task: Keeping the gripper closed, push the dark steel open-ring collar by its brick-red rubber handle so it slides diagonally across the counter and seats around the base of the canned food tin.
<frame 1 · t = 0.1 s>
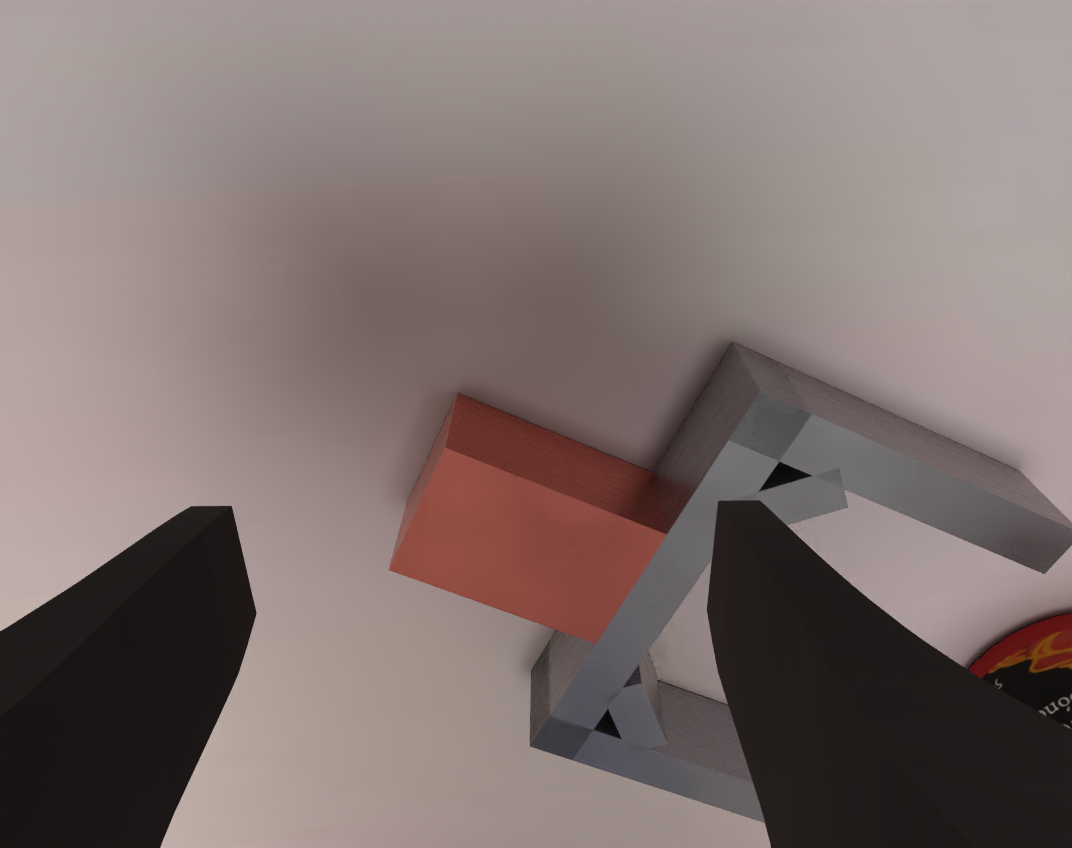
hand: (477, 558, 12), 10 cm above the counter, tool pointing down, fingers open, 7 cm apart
canned food: (1055, 691, 27), on the counter
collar: (804, 597, 25), on the counter
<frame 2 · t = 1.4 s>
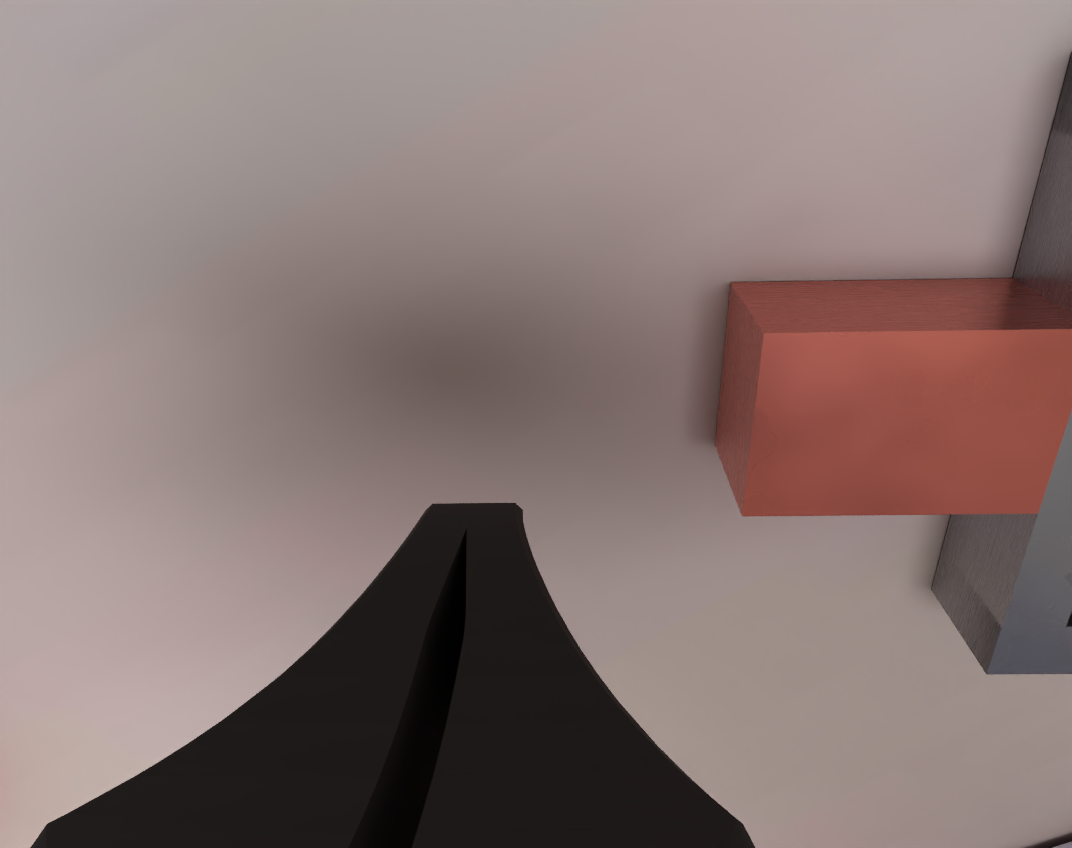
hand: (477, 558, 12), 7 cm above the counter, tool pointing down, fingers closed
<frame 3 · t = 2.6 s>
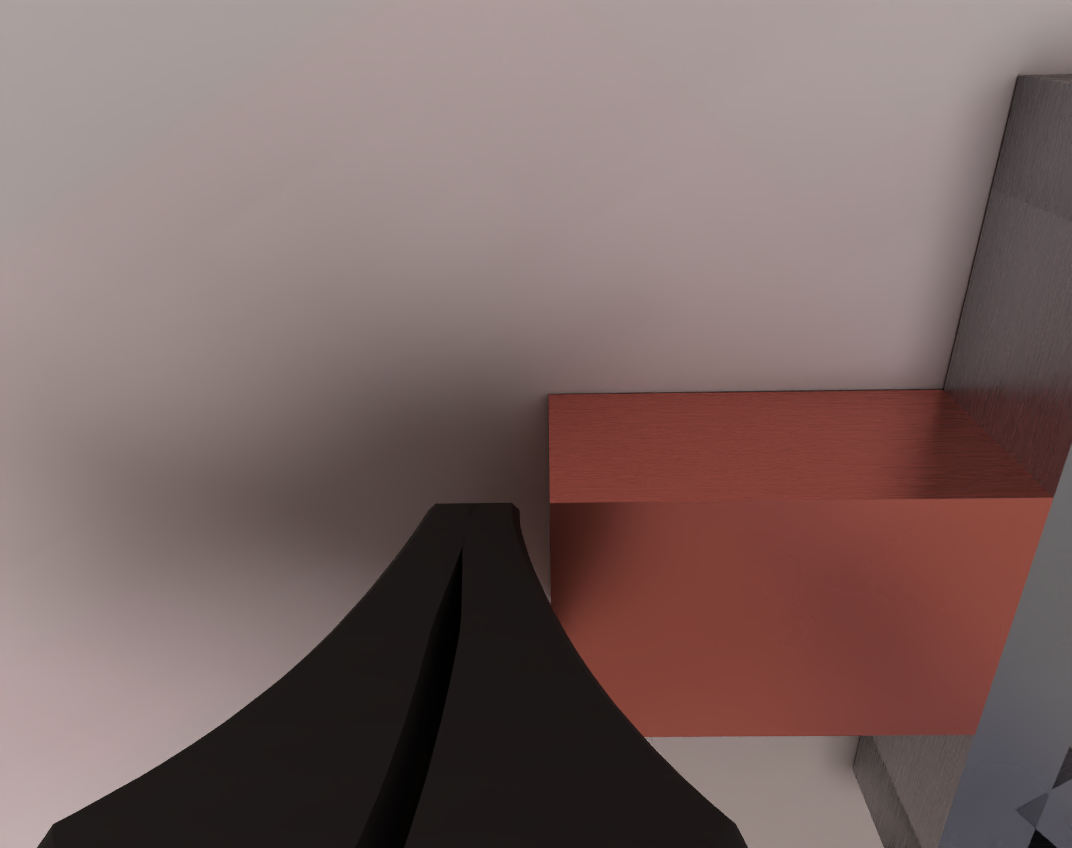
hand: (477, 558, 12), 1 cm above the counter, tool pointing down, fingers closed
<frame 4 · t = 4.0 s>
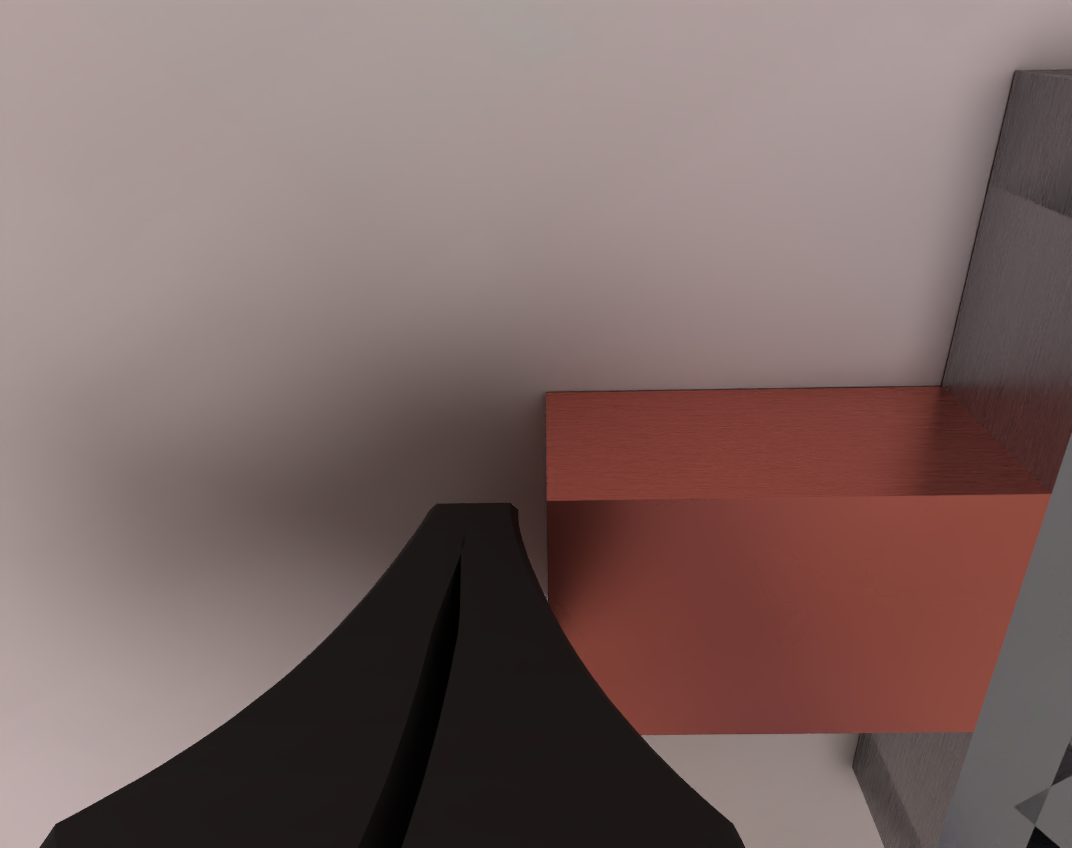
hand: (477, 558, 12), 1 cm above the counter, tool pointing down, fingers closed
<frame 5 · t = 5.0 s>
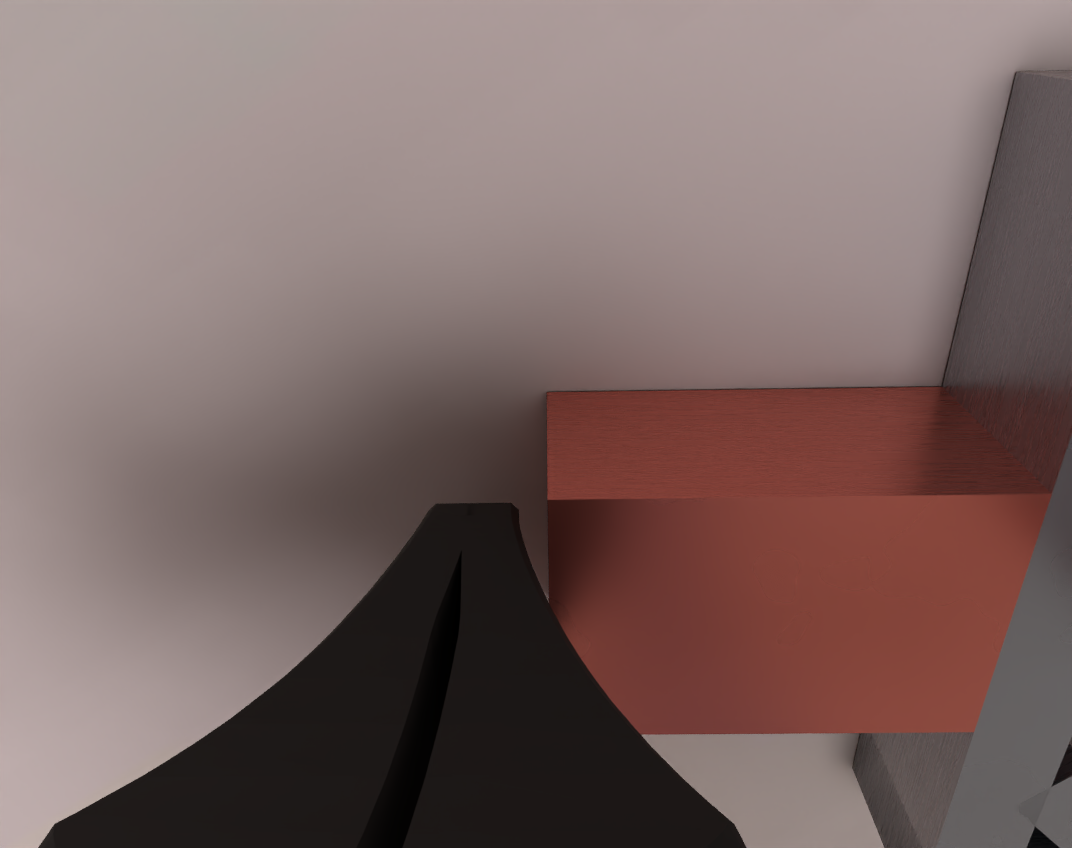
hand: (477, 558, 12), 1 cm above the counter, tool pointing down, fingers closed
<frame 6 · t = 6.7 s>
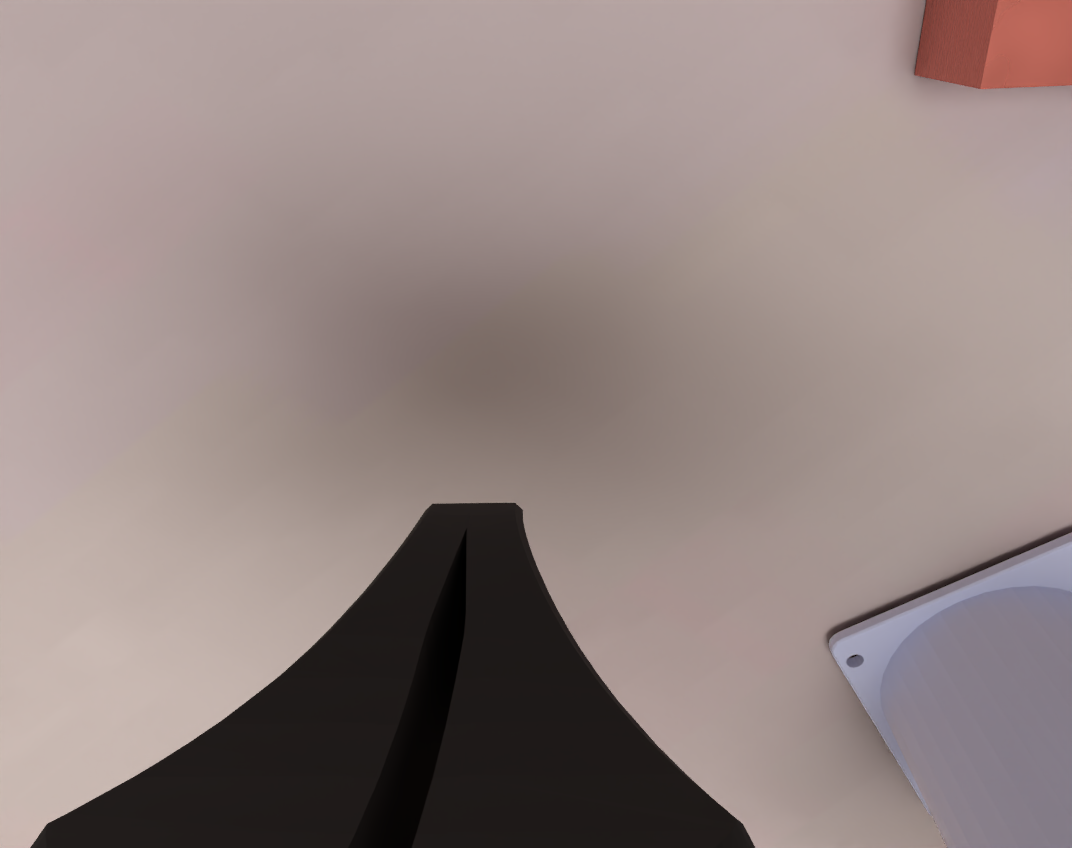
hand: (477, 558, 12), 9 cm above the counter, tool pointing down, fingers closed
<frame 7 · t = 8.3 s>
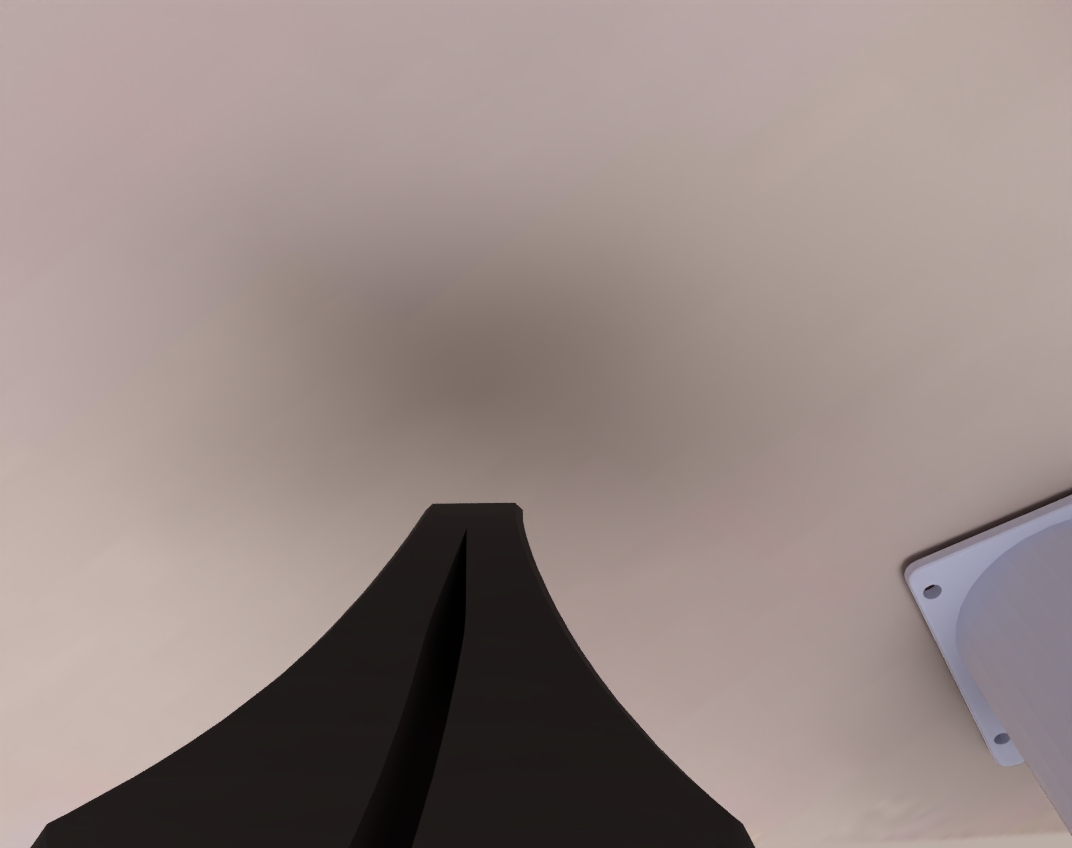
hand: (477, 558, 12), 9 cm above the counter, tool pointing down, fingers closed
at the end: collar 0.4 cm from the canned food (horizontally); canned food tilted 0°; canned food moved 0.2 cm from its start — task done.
